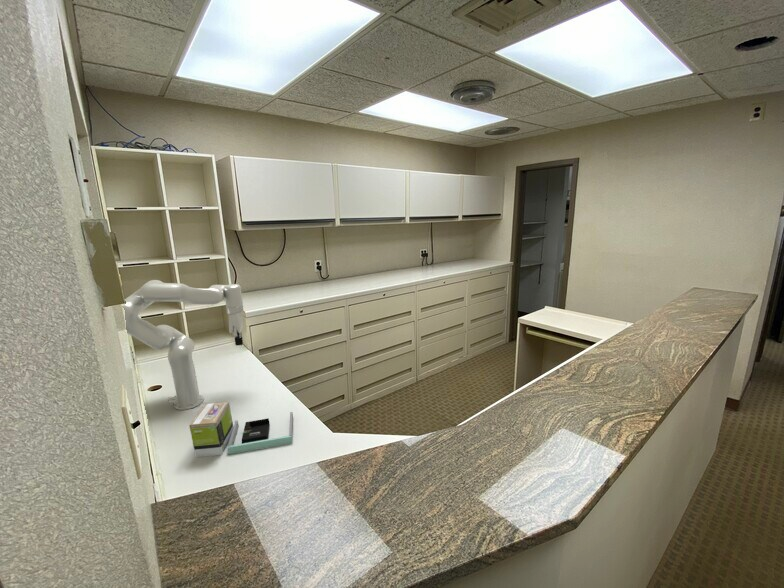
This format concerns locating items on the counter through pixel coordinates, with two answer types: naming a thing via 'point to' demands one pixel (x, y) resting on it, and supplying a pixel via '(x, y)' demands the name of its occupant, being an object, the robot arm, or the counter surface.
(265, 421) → the battery charger
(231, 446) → the dock
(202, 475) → the counter surface
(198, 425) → the tea box
